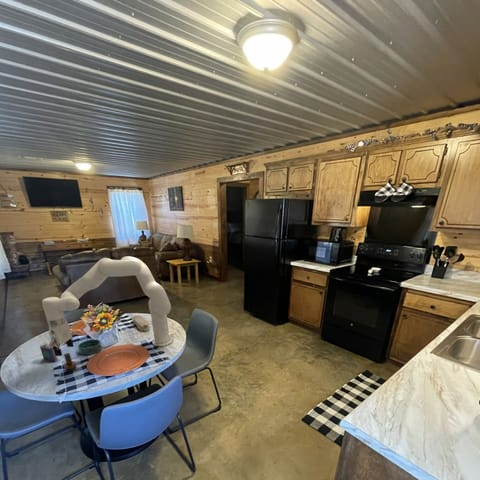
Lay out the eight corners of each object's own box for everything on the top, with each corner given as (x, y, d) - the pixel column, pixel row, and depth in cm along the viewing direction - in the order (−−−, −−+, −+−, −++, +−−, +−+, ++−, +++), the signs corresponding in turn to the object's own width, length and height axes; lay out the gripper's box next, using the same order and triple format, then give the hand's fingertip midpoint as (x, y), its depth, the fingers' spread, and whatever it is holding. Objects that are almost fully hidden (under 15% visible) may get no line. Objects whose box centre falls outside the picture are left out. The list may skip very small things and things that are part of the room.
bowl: (94, 343, 171) (92, 337, 170) (106, 348, 165) (104, 342, 164) (75, 351, 162) (73, 345, 160) (87, 357, 156) (85, 350, 154)
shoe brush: (151, 329, 191) (150, 323, 189) (141, 332, 187) (140, 326, 185) (141, 319, 209) (140, 313, 207) (131, 321, 205) (130, 316, 203)
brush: (73, 365, 148) (69, 350, 144) (79, 368, 145) (74, 353, 141) (63, 370, 143) (58, 355, 140) (68, 373, 141) (64, 357, 137)
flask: (59, 360, 153) (53, 343, 149) (54, 362, 150) (49, 346, 146) (46, 357, 155) (41, 341, 151) (42, 360, 153) (36, 344, 148)
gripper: (52, 328, 125) (61, 359, 131) (74, 315, 141) (81, 343, 147) (37, 328, 125) (46, 359, 132) (60, 315, 141) (68, 343, 148)
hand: (65, 351), depth 139 cm, fingers open, 9 cm apart
